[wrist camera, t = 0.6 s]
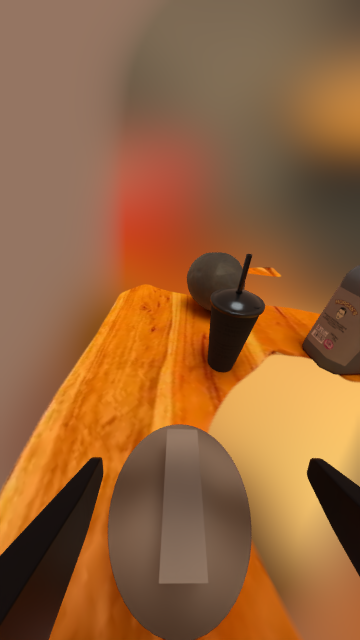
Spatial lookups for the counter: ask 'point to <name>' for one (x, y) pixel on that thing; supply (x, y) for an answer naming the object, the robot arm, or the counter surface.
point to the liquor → (338, 329)
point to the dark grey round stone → (212, 276)
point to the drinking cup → (231, 322)
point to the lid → (179, 532)
